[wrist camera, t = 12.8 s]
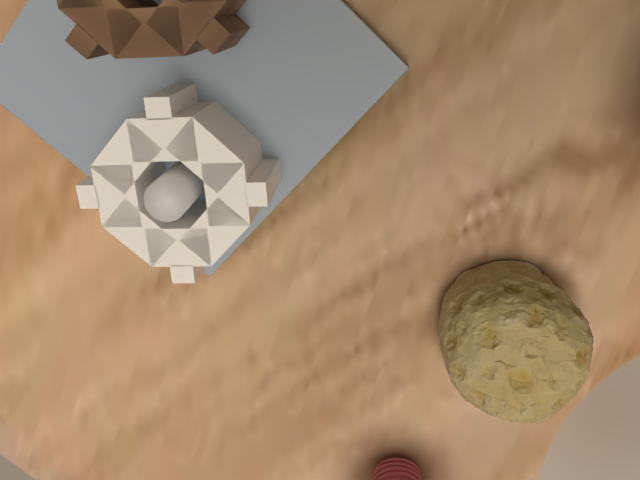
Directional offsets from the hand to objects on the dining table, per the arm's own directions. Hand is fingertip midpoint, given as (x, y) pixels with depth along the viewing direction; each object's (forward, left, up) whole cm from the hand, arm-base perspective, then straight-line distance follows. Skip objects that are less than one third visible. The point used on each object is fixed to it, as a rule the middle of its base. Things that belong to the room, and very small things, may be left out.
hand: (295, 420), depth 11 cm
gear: (+9, -5, -27) cm, 29 cm away
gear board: (+5, -10, -29) cm, 31 cm away
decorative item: (+3, +17, -29) cm, 34 cm away
